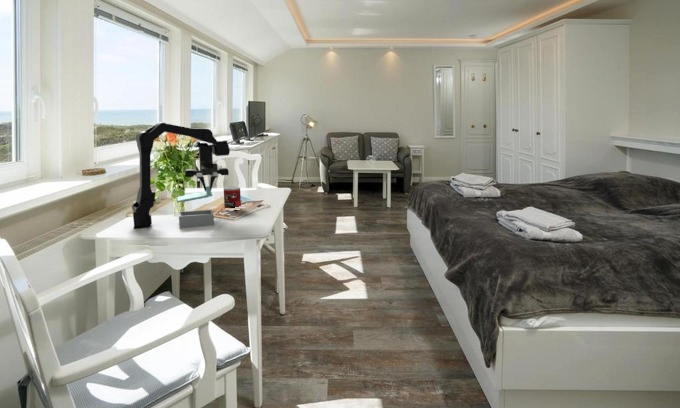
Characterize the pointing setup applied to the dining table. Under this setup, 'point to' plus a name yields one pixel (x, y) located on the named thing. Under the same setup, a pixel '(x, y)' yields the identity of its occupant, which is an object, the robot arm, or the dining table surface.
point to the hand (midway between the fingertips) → (207, 191)
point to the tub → (196, 218)
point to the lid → (195, 195)
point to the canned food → (232, 197)
